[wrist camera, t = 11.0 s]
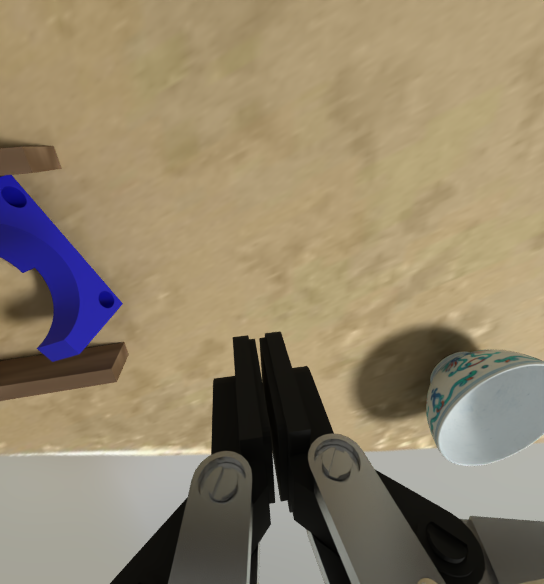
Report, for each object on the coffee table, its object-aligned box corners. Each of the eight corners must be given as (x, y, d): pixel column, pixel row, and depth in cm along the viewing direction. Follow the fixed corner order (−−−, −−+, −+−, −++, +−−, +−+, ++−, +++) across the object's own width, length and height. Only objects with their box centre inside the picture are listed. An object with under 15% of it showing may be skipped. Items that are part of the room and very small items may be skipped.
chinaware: (394, 423, 42) (428, 477, 35) (406, 333, 35) (452, 378, 28) (492, 403, 43) (543, 452, 37) (522, 314, 37) (592, 352, 30)
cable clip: (-27, 197, 22) (-123, 231, 18) (10, 173, 21) (-83, 203, 16) (87, 315, 28) (39, 365, 24) (122, 303, 27) (79, 354, 22)
